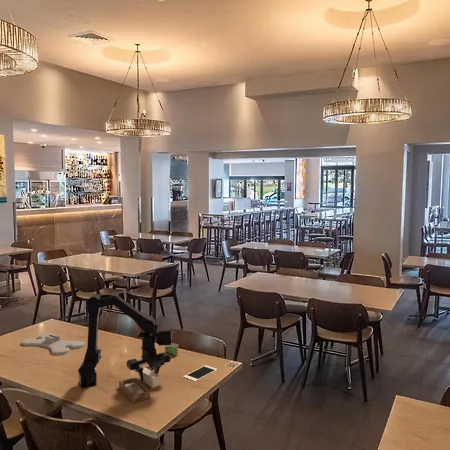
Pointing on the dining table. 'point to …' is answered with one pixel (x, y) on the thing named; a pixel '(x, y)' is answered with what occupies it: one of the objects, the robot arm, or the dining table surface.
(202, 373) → the cell phone
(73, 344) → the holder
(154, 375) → the white rectangular block
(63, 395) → the dining table surface
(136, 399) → the cradle
